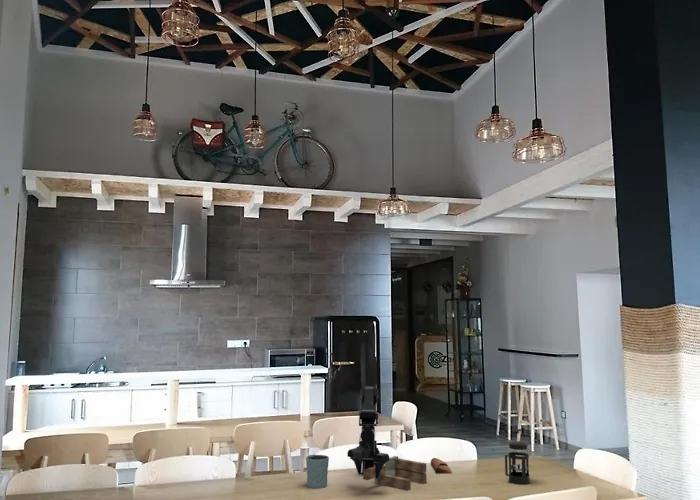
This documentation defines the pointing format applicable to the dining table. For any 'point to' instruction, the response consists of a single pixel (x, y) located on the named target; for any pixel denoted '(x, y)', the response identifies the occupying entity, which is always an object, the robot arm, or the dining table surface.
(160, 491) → the dining table surface
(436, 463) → the sunglasses case
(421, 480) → the brown wooden crate
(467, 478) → the dining table surface
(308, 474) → the grey-green cup
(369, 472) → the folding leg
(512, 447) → the french press
